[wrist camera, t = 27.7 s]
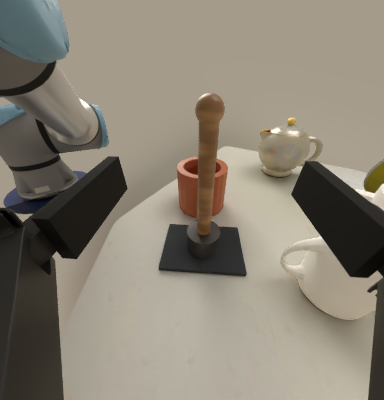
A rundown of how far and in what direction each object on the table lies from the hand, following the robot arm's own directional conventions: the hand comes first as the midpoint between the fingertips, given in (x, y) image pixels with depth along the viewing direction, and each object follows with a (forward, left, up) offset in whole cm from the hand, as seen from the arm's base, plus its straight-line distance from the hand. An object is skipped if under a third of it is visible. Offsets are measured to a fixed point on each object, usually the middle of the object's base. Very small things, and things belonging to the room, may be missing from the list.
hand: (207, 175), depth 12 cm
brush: (-6, +6, -19) cm, 21 cm away
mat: (-6, +6, -19) cm, 21 cm away
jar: (-16, +15, -19) cm, 29 cm away
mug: (+10, +14, -20) cm, 26 cm away
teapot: (-11, +46, -20) cm, 51 cm away
